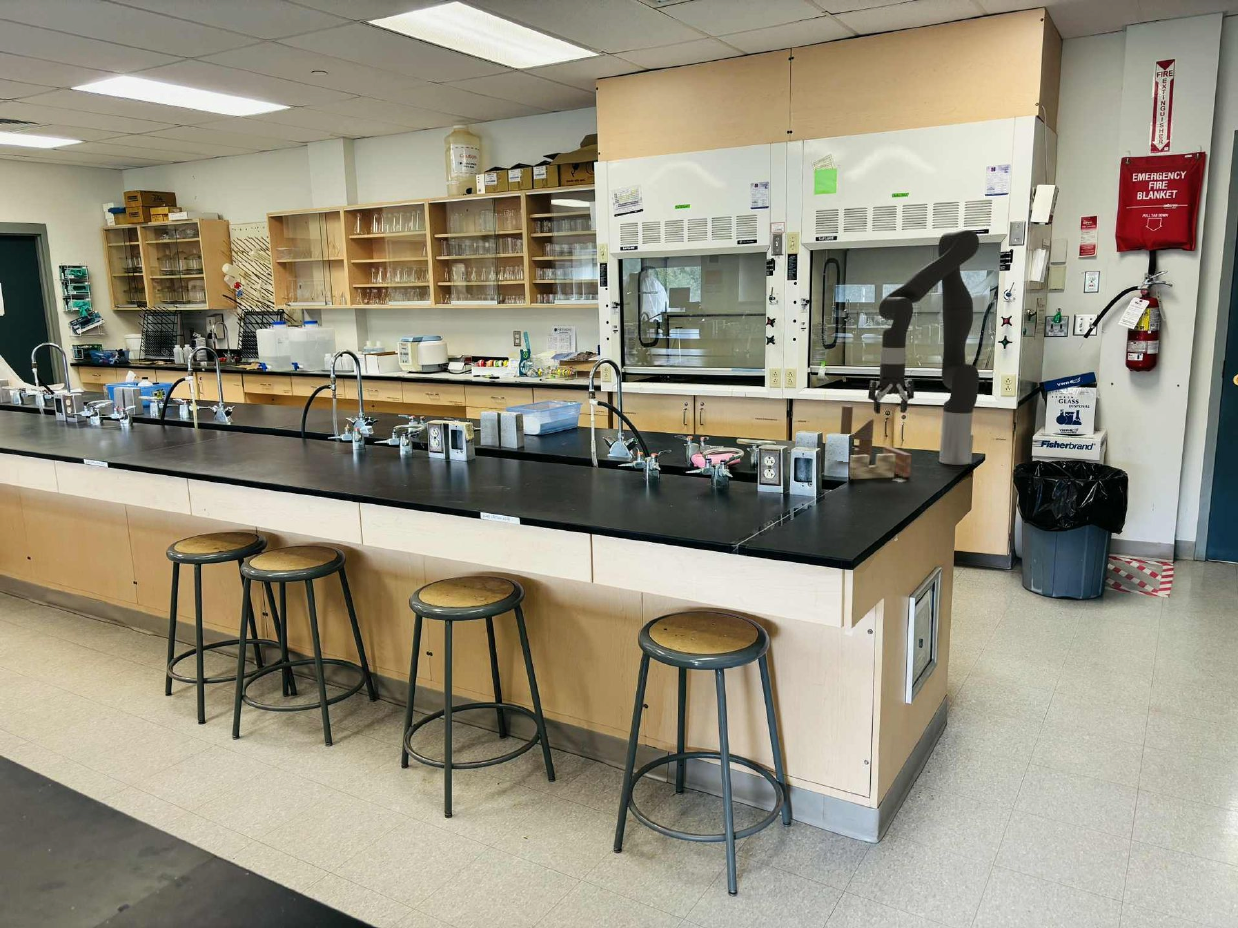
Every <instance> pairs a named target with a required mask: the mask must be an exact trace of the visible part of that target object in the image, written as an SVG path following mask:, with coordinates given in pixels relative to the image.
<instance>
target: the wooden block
mask: <svg viewBox="0 0 1238 928" xmlns="http://www.w3.org/2000/svg"><path fill="white" fill-rule="evenodd" d="M853 412H854V407H853V406H852V405H847V404H845V405H842V407H841V416H840V417H841V418H840V434H851V435H854V439H853V440H857V441H858V448H857V447H854V448H855V449H854V455H868V456H870V458H869V462H870V461H872V451H873V438H874V437H873V435H874V422H875V420H874V418H871V419H870V420H868V421H867V422H866V423H865V424H863V426H861V427H860V428H859V429H858V430H857V431H856V432H854V433H853V431H852V430H853ZM852 433H853V434H852Z"/></svg>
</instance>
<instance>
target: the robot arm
mask: <svg viewBox="0 0 1238 928" xmlns="http://www.w3.org/2000/svg"><path fill="white" fill-rule="evenodd" d="M979 247H980V238H979V236H978V234H977V233H976V232H975V231H973V230H972V229H971V230H970V229H962V230H961V229H958V230H952V231H945V232H944V233H943V234H942V235H941V237H940V238H939V240H938V247H937V248H938V249H937V250H938V253H937V254H938V258H936V259H935V260H934V261H932V262H930V263H929V264H927V265H925V266H924V267H923V268H920V269H919V270H917V271H916V273H914V274H913V275H912V276H911V277H910V278H908V280H907V281H906V282H905V283H904V284H903V285H902V286H900V287H898V288H897V289H895V290H893V291H892V292H890V293H889V294H888V295H886V296H885V297H884V298H883V299H882V300H881V302H880V303H879V306H878V312H879V313H878V314H879V316H880V317H881V318H882V319H884V320H887V321H889V320H890V321H892V324H891V327H888V328H886V329H884V330H883V332H882V341H881V342H882V343H881V352H880V365H879V366H880V367H879V380H878V381H877V380H876V381H875V380H870V381H869V386H868V396H867V398H868V400H871V401H873V412H875V414H876V415H880V414H881V406H882V405H881V404H882V402H881V400H882V399H883V398H884V397H885V396H886V395H892V394H893V395H898V396H899V397H900V399H901V400H900V407H899V409H900V411H899V412H900V413H902V414H903V413H906V412H907V411H908V404H909V403H908V402H909V400H913V399H914V398H915V381H914V380H913V379H909V378H908V379H907V380H905V377H906V361H907V353H906V352H907V351H906V350H907V349H906V344H907V333H908V330H909V327H910V325H911V321H912V317H913V314H914V306H913V304H916V303H918V302H920V301H921V300H922V299H923V298H924V297H925V296H927V294H928V293H929V292H930V291H931V290H932V289H933V288H935V286H937V284H938V283H940V282H941V290H942V291H941V292H942V294H941V295H942V326H943V327H942V328H943V330H942V335H943V336H942V337H943V338H942V339H943V352H942V364H941V380H942V384H943V385H944V386H945V387H946V388H947V389H949V390H950V396H949V399H948V400H946V401H945V402H944V403H943V409H942V420H941V421H942V422H941V433H940V446H939V456H938V457H939V460H938V461H939V462H940V463H941V464H946V465H955V466H957V465H959V466H961V465H962V466H963V465H968V464H972V458H973V457H972V456H973V444H974V434H972V426H973V416H974V415H973V414H974V413H973V412H974V408H975V406H976V404H977V399H978V392H979V386H980V374H979V373H980V372H979V370H978V368H977V367H976V366H975V365H973V364H970V363H966V344H967V340H968V338H969V335H970V332H971V331H972V330H971V329H972V326H973V321H974V302H973V298H972V296H971V293H970V291H969V289H968V288H967V286H966V283H965V282H964V280H963V278H962V275H961V266H962V265H963V264H964V263H966V262H968V261H969V260H971V258H973V257H974V256H975V255H976V254H977V252H978V250H979ZM878 386H879V389H878V391H877V388H878ZM904 386H905V387H906V391H905V390H904Z"/></svg>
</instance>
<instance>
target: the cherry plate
mask: <svg viewBox="0 0 1238 928" xmlns="http://www.w3.org/2000/svg"><path fill="white" fill-rule="evenodd" d="M882 454H894V455H896V456H895V470H894V475H897V474H898V476H899V477H902V476H903V477H902V478H908V477H911V461H912V454H910V453H908V452H905V451H902V450H900V449H898V448H894V447H892V446H883V449H882Z"/></svg>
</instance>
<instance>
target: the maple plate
mask: <svg viewBox="0 0 1238 928" xmlns="http://www.w3.org/2000/svg"><path fill="white" fill-rule="evenodd" d="M895 456H896V455H894V454H883V453H877V454H876V455H875V464H874V465H870V461H869V458H870V456H868V455H850V459H849V471H848V472H849V473H848V477H849V476H850V478H849V479H851V480H859V479H862V480H863V479H880V478H881V479H883V478H884V479H885V478H895V471H894V470H895Z"/></svg>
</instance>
